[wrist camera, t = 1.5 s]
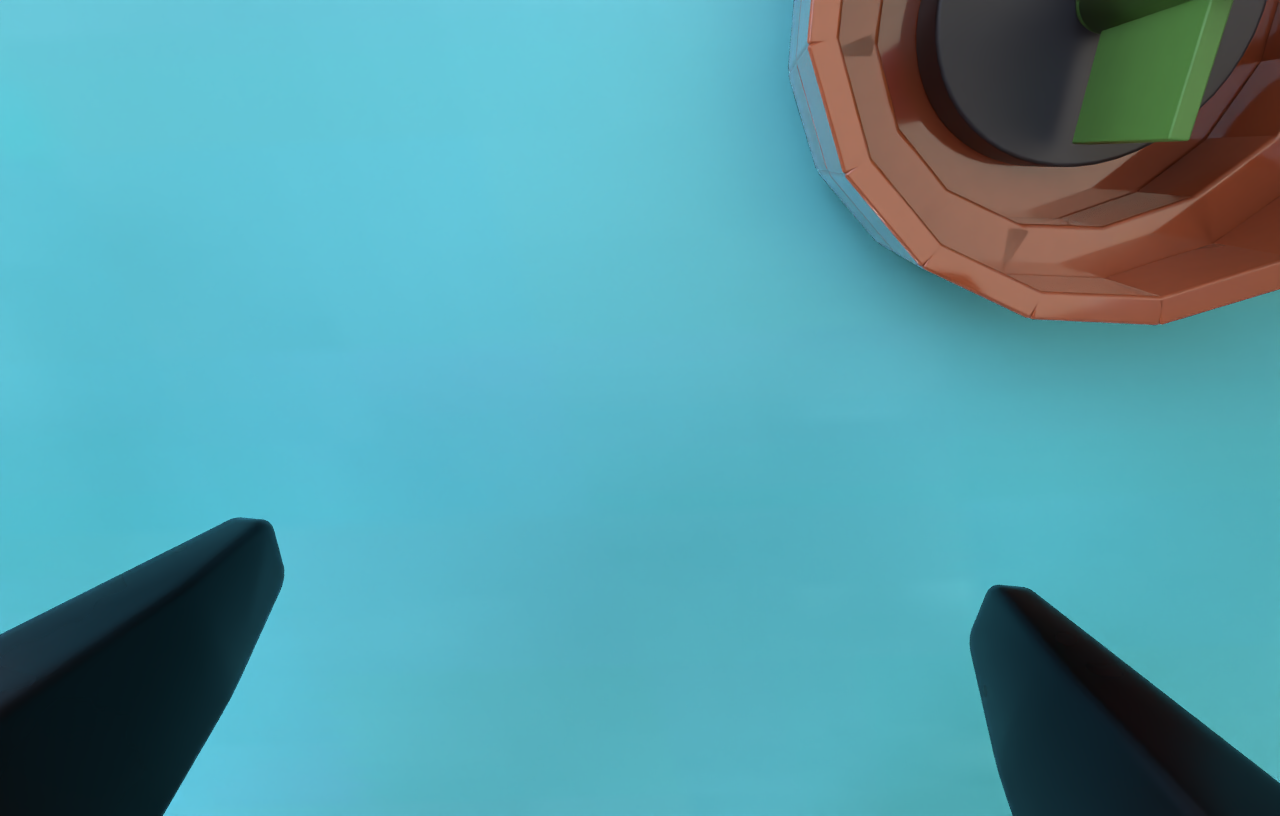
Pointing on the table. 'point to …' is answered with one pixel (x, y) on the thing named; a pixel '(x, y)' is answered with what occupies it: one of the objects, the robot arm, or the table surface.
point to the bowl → (1044, 183)
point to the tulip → (1077, 72)
